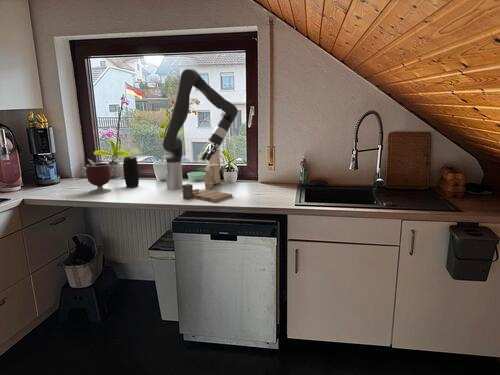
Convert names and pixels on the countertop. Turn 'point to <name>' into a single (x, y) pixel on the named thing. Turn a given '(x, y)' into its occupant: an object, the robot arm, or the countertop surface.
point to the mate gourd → (98, 176)
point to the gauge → (188, 191)
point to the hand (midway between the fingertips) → (204, 159)
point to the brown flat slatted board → (211, 195)
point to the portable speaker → (131, 172)
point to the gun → (211, 175)
